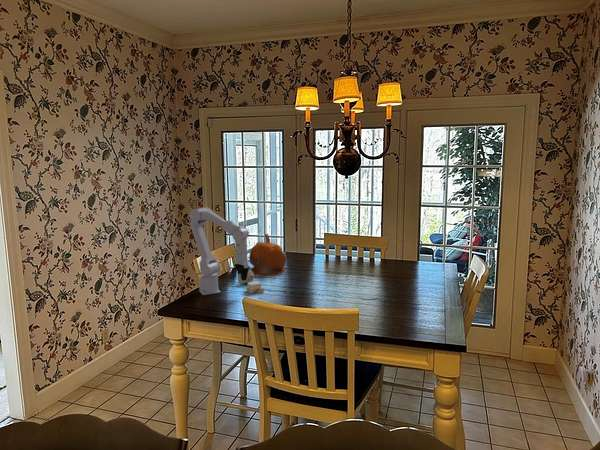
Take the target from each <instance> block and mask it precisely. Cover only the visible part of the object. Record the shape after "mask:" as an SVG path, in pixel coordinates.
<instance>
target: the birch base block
mask: <svg viewBox="0 0 600 450" xmlns="http://www.w3.org/2000/svg"><path fill="white" fill-rule="evenodd" d="M245 288H246V289H245V290H246V292H248V293H249V294H250V295H255V294H260V293H261V292H262V293H264V292H265V290H264V289H265V288H264V287H263V286H261V288H260V289H253V290H250V289H249V288H248V286H246V287H245ZM262 293H261V294H262Z"/></svg>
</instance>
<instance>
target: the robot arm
mask: <svg viewBox="0 0 600 450" xmlns="http://www.w3.org/2000/svg"><path fill="white" fill-rule="evenodd" d="M188 217H189V219H190V229H191V231H192V234H193V237H194V240H195V244H196V246H197V249H198V252H199V255H200V258H201V260H200V261H199V268H200V269H199V272H200V274H201V275H202V276H199V277H198V286H199V293H200V294H201V295H202V296H207V295H213V294H214V295H215V294H220V293H222V292H221V290H219V271H220V270H221V265H220V262H218V260H217V258H216V257H215V256H213V254H212V252H211V249H210V245H209V243H208V240H207V237H206V234H205V231H204V224H205V223H206V222H207V221H211V222H213V223H214V224H216V225H217V226H220V227H221V228H222V230H223V231H224V232H225V233H227V234H228V235H231V236H232V238H233V240H234V244H235V245H234V246H235V247H234V249H235V263H234V268H235V269H236V272H237V275H238V274H239V273H240V274H241V279H242V281H244V280H246V279H247V274H248V271H249V270H250V269H251V267H250V266H249V263H250V260H249V259H248V258H249V257H248V239H247V238H248V237H249V233H250V232H249V230H248V229H247V228H246V227H241V226H240V225H238V224H236V223H235V222H233V220H230V219H229V220H228V219H227V220H225V219H223V218H222V217H221V216H219V215H218V214H216V213H215V212H214V211H213V210H212V209H211V208H209V207H207V206H204V207H200V208H193V209H191V211H190V213H189V215H188Z"/></svg>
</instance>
